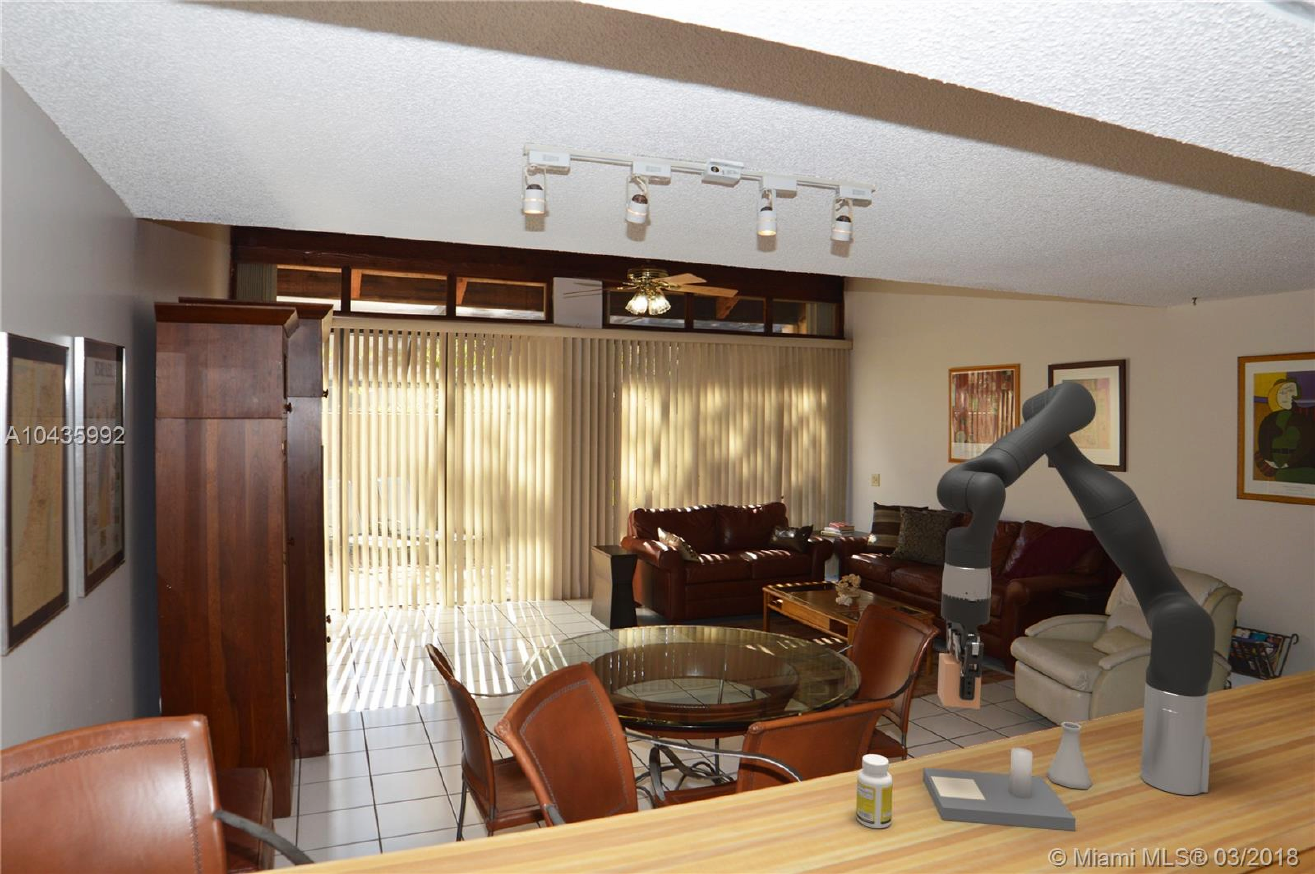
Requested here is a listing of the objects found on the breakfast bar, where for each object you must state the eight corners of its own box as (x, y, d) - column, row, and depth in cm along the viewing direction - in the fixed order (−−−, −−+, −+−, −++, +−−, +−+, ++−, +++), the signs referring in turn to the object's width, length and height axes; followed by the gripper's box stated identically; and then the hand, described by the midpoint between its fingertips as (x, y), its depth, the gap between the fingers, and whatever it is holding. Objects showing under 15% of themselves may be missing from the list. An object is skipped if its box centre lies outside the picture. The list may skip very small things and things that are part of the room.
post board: (1041, 788, 138) (1044, 737, 137) (1074, 831, 124) (1077, 774, 123) (922, 778, 140) (925, 728, 139) (942, 819, 126) (944, 764, 126)
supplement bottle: (887, 813, 128) (890, 753, 127) (894, 831, 122) (896, 768, 122) (853, 810, 128) (855, 750, 128) (858, 828, 123) (860, 765, 122)
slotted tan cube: (937, 693, 135) (939, 651, 135) (972, 696, 134) (974, 654, 134) (943, 705, 130) (945, 661, 129) (979, 709, 129) (981, 664, 128)
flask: (1090, 776, 143) (1093, 722, 142) (1093, 794, 136) (1096, 736, 136) (1045, 768, 146) (1048, 714, 145) (1046, 784, 139) (1049, 728, 139)
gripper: (932, 581, 139) (928, 676, 139) (953, 601, 124) (948, 707, 125) (977, 583, 138) (972, 679, 138) (1003, 603, 124) (998, 710, 124)
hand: (961, 692), depth 132 cm, fingers closed on slotted tan cube, 5 cm apart
